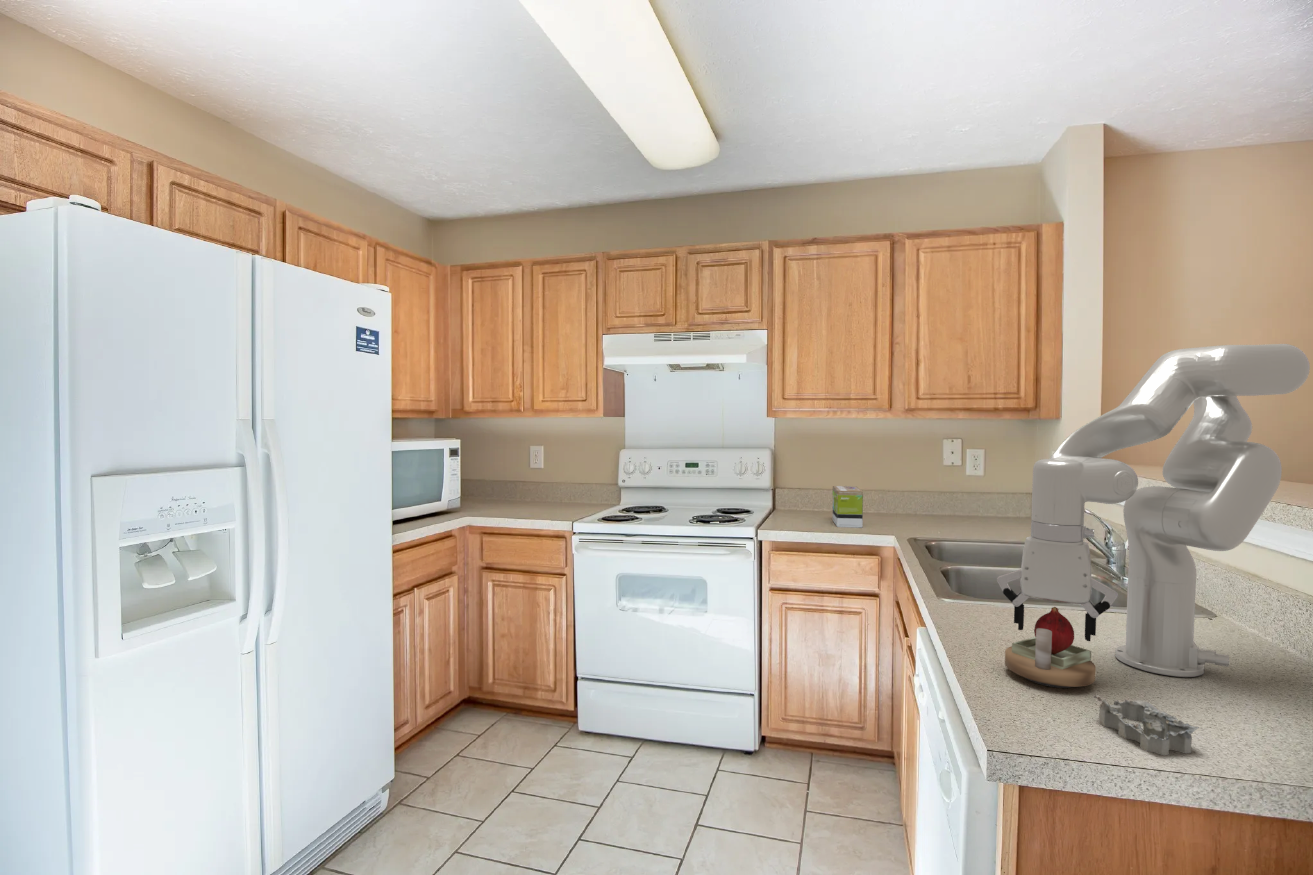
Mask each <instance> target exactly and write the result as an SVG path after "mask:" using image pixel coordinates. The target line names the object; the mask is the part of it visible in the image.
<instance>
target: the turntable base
mask: <svg viewBox="0 0 1313 875" xmlns="http://www.w3.org/2000/svg"><path fill="white" fill-rule="evenodd" d="M1023 678H1025V677H1023ZM1025 679H1026V680H1028V681H1030V682H1031V683H1035V684H1038V685H1042V686H1045V687H1050V688H1057V689H1069V688H1071V687H1070V686H1059V685H1052V684H1047V683H1042V682H1038V681H1034V680H1031V679H1028V678H1025Z"/></svg>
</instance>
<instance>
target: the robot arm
mask: <svg viewBox="0 0 1313 875" xmlns="http://www.w3.org/2000/svg"><path fill="white" fill-rule="evenodd" d="M1310 367H1311V366H1310V362H1309V359H1308V357H1307V355H1306V353H1305V352H1304V351H1303V350H1301V349H1300V348H1299V347H1297V346H1295V345H1291V344H1289V343H1278V344H1277V343H1271V344H1270V343H1269V344H1225V345H1223V344H1222V345H1213V346H1212V345H1211V346H1199V347H1190V348H1180V349H1179V348H1178V349H1174V350H1170V351H1169V352H1165V353H1163V354H1162V355H1161V356H1160V357H1158V358H1157V360H1156V361H1155V362H1153V364H1152V365H1151V366H1150V368H1149V369H1148V370H1147V372H1146V373H1144V375H1143V376H1142V377H1141V379H1140V380H1139V381H1138V382H1137V384H1136V385H1135V386H1134V388H1133V389H1132V390H1131V391H1130V392H1129V394H1128V395H1127V396H1126V397H1125V398H1124V399H1123V400H1122V402H1121V403H1120V404H1119V405H1118V406H1117V407H1115V408H1113V409H1111V410H1109V411H1107V412H1105V413H1103V414H1101V415H1100V416H1098V417H1096V418H1095V419H1093V420H1091V421H1089V422H1088V423H1086V424H1084V425H1082V426H1081V427H1079V428H1078V429H1076V430H1074V431H1073V432H1071V434H1069V435H1068V436H1067V437H1066V438H1065V439H1064V440H1063V441H1062V443H1060V445H1059V446H1058V447H1057V449H1056V450H1055V451H1054V453H1052V455H1051V456H1050V457H1049V458H1044V459H1043V458H1042V459H1039V460H1037V461H1035V462H1034V464H1033V468H1032V488H1031V489H1032V492H1031V494H1032V495H1031V520H1030V521H1031V523H1030V536H1026V538H1025V540H1024V546H1023V550H1022V558H1021V567H1020V568H1019V569H1018V570H1014V571H1012V572H1008V573H1005V574H1002V575H998V576H997V578H996V582H997V583H998V585H999V587H1000V589H1001V591H1002V593H1003V595H1004V596H1005V597H1006V598H1007V599H1008V600H1009V602H1010V603H1011V604H1012V605H1013V607H1014V608H1013V609H1014V610H1013V612H1014V613H1013V623H1014V624H1018V625H1017V626H1018V627H1017V630H1018V631H1023V630H1024V625H1025V624H1024V623H1025V604H1024V603H1025V602H1026V601H1027V600H1028V599H1029V598H1032V599H1037V600H1044V601H1052V602H1058V603H1065V604H1072V605H1073V604H1075V605H1081V606H1082V608H1083V609H1084V610H1085V611H1086V613H1085V616H1084V639H1085V641H1086V642H1091V638H1092V636H1096V635H1097V631H1096V630H1097V618H1098V617H1099V616H1100V615H1101V614H1104V612H1106V611H1108V610H1110V608H1111V606H1112V605H1113V604H1114V603H1115V601H1116V600H1117V598H1119V594H1118V592H1117V590H1115V589H1113V588H1111V587H1110V586H1108V585H1106V584H1105V583H1103V582H1101V581H1099V580H1097V579H1095V578H1093V577H1092V561H1091V550H1090V545H1089V543H1088V542H1086V541H1084V539H1087V538H1089V537H1090V538H1094V537H1095V529H1094V528H1089V527H1087V526H1086V525H1085V504H1086V503H1087V502H1091V503H1097V504H1104V505H1105V504H1106V505H1113V504H1120V503H1123V504H1124V505H1123V508H1122V509H1123V510H1122V512H1123V521H1124V525H1125V526H1124V527H1125V530H1126V535H1127V544H1128V570H1127V571H1128V573H1127V576H1128V577H1127V594H1126V595H1127V596H1126V620H1125V621H1126V622H1125V623H1126V624H1125V644H1124V645H1118V646H1117V647H1116V648H1115V649H1114V656H1115V658H1116V659H1117V660H1118V661H1120V662H1122V663H1123V664H1125V665H1128V666H1130V667H1132V668H1134V669H1138V670H1142V671H1145V672H1149V673H1152V674H1157V675H1163V676H1170V677H1180V678H1195V677H1199V676H1202V675H1203V674H1204V673H1205V664H1206V663H1207V664H1213V665H1215V666H1221V667H1227V668H1228V667H1230V656H1229V654H1223V653H1217V651H1216V650H1212V649H1203V648H1200V647H1199V646H1197V645H1196V643H1195V640H1194V639H1195V638H1194V637H1195V635H1194V634H1195V619H1196V618H1195V617H1196V616H1195V614H1196V591H1197V590H1196V588H1197V587H1196V586H1197V567H1196V563H1195V560H1194V557H1193V556H1192V554H1191V552H1190V550H1189V548H1188V547H1192V548H1198V549H1203V550H1209V551H1215V552H1227V551H1231V550H1234V549H1235V548H1237V547H1239V545H1241V544H1242V543H1243V542H1244V541H1245V539H1247V537H1248V536H1249V535H1250V533H1251V531H1252V530H1253V528H1254V527H1255V525H1256V524H1257V522H1258V521H1259V519H1260V517H1261V516H1262V514H1263V513H1264V511H1265V510H1266V508H1267V507H1268V505H1269V504H1270V502H1271V500H1272V499H1273V497H1274V496H1275V494H1276V492H1277V491H1278V488H1279V486H1280V483H1281V479H1282V473H1283V472H1282V470H1283V468H1282V462H1281V459H1280V457H1279V455H1278V454H1277V453H1276V451H1275V450H1274V449H1272V448H1271V447H1269V446H1267V445H1265V444H1264V443H1263V444H1262V443H1258V442H1253V441H1248V440H1249V438H1250V437H1251V435H1252V431H1253V424H1252V420H1251V417H1250V416H1249V414H1248V413H1247V411H1246V410H1245V409H1244V407H1243V406H1242V404H1241V403H1240V401H1239V398H1238V397H1240V396H1241V397H1245V396H1246V397H1248V396H1249V397H1251V396H1253V397H1254V396H1257V397H1258V396H1270V395H1271V396H1272V395H1273V396H1274V395H1286V394H1290V393H1294V391H1296V390H1298V389H1299V388H1300V387H1302V386H1303V385H1304V383H1306V381H1307V379H1308V378H1309V374H1310V369H1311V368H1310ZM1237 396H1238V397H1237ZM1192 405H1193V408H1194V410H1193V416H1192V419H1191V420H1190V422H1189V424H1188V425H1187V427H1186V428H1185V430H1184V431H1183V433H1182V435H1181V436H1180V437H1179V439H1178V441H1177V442H1176V444H1174V446H1173V447H1172V449H1171V451H1170V453H1169V454H1168V456H1167V457H1166V459H1165V461H1164V464H1163V466H1162V477H1163V478H1164V481H1165V483H1167V485H1168V484H1169V485H1170V486H1171V487H1170V486H1162V485H1161V486H1158V485H1157V486H1156V485H1153V486H1144V487H1141V488H1138V487H1139V478H1138V475H1137V473H1136V470H1135V469H1133V468H1132V466H1130V465H1129V464H1127V463H1125V462H1123V461H1120V460H1117V459H1112V458H1105V457H1106V456H1107V455H1109V454H1111V453H1114V452H1117V451H1119V450H1123V449H1126V448H1131V447H1135V446H1138V445H1139V446H1140V445H1143V444H1148V443H1150V442H1153V441H1156V440H1159V439H1162V438H1164V437H1166V436H1168V434H1170V433H1171V432H1172V430H1174V428H1175V426H1176V425H1177V424H1178V422H1179V421H1180V420H1181V419H1182V418H1183V416H1184V415H1185V414H1186V412H1187V411H1188V410H1189V409H1190V408H1191V406H1192ZM1103 457H1104V458H1103ZM1019 579H1020V581H1019V582H1020V583H1019V585H1020V586H1019V587H1020V591H1019V592H1018V593H1017V594H1016V592H1015V591H1013V589H1012V588H1011V587H1010V586H1009V583H1010V582H1014V581H1016V580H1019ZM1092 588H1093V590H1096V591H1097V592H1099V593H1101V594H1103V596H1104V597H1103V599H1102V600H1101V601H1099V602H1097V603H1096V604H1094V603H1093V602H1092V601H1091V597H1092Z"/></svg>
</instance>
